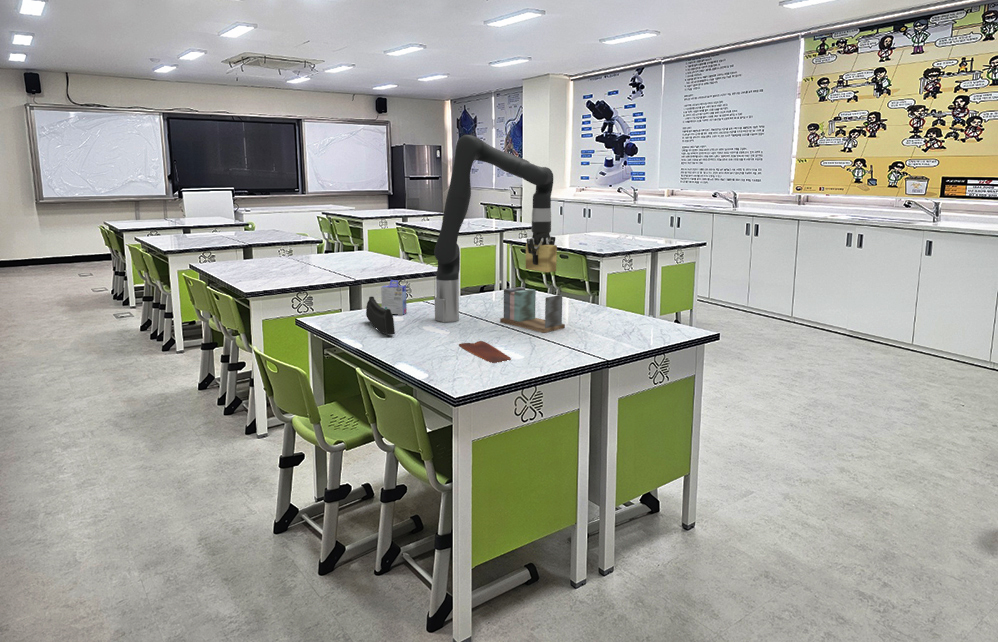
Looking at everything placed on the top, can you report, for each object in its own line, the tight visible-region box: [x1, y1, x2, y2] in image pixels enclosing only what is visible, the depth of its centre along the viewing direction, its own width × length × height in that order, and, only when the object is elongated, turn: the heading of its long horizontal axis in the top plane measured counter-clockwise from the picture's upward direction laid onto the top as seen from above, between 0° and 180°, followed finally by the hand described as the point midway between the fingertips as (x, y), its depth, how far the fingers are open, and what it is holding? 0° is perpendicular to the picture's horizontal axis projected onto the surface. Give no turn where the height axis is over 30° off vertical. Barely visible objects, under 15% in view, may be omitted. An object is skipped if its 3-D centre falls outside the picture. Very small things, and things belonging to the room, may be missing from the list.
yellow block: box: [525, 243, 558, 273], centre depth 267 cm, size 5×12×10 cm, turn 41°
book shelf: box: [499, 286, 566, 333], centre depth 275 cm, size 12×25×14 cm, turn 42°
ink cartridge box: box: [380, 279, 408, 316], centre depth 295 cm, size 10×6×14 cm, turn 80°
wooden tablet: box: [458, 340, 512, 364], centre depth 235 cm, size 27×10×2 cm, turn 26°
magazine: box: [365, 296, 396, 336], centre depth 267 cm, size 17×3×30 cm
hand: (540, 263), depth 267 cm, fingers closed on yellow block, 5 cm apart
